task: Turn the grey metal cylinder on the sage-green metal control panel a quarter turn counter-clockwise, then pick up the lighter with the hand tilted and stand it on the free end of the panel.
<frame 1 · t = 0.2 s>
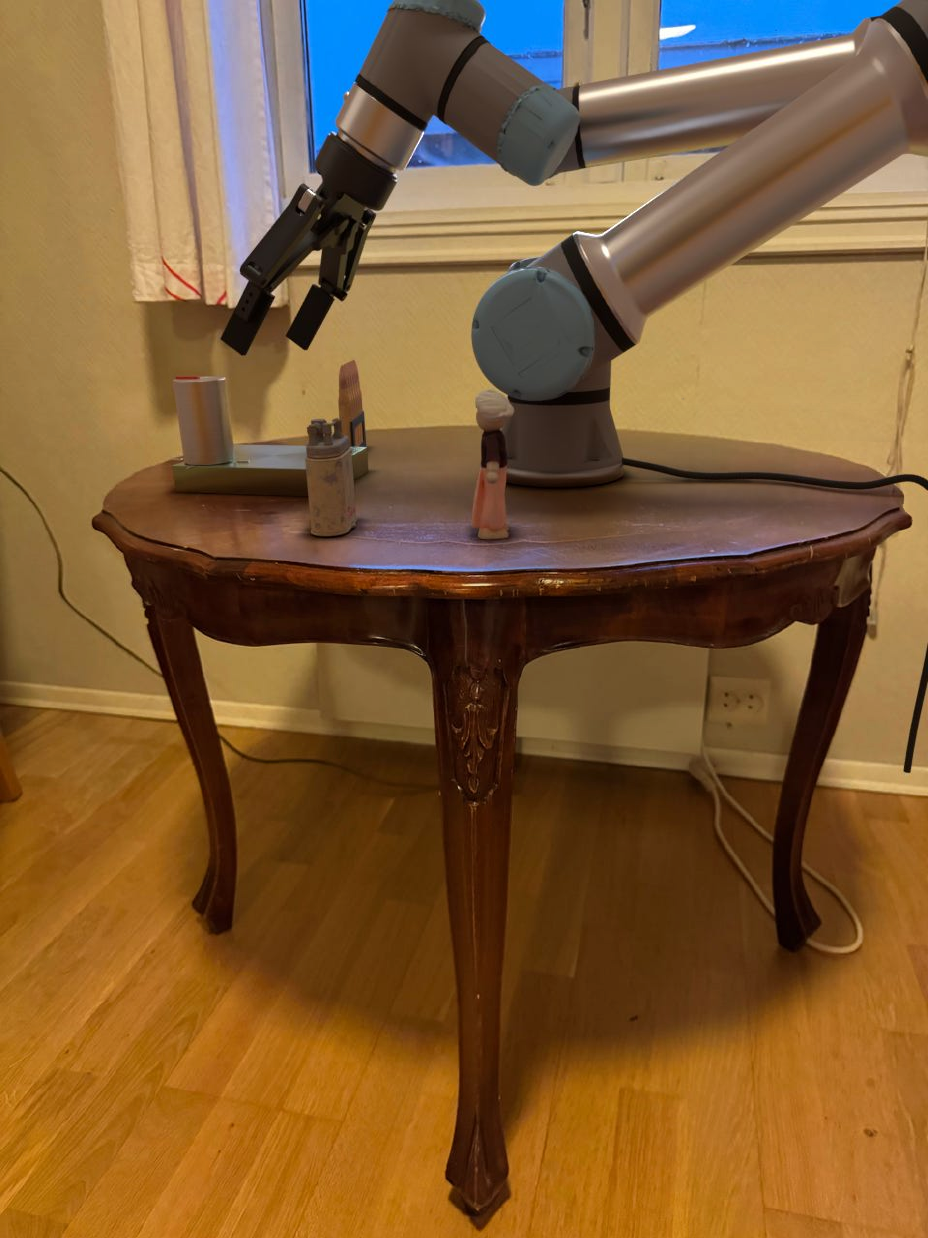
hand: (266, 345, 92), 16 cm above the table, tool tilted 35°, fingers open, 13 cm apart
panel: (276, 481, 103), on the table
lighter: (336, 529, 82), on the table
grey metal cylinder: (204, 418, 98), point 8 cm above the table, hinge at 0.0°
grandmother figurine: (492, 536, 79), on the table
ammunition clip: (354, 455, 119), on the table
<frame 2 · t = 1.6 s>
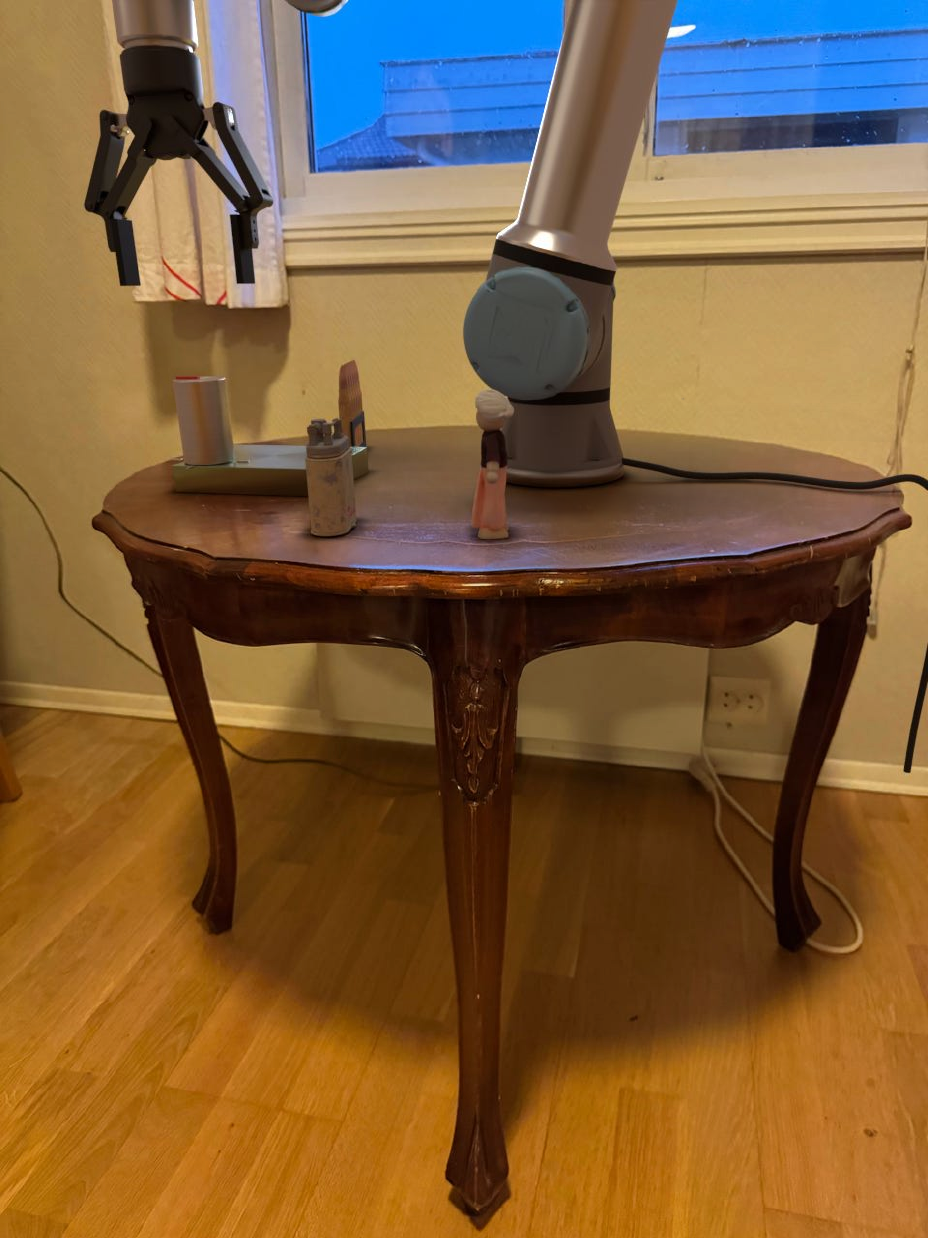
hand: (187, 285, 93), 22 cm above the table, tool pointing down, fingers open, 13 cm apart
nothing on the table moved.
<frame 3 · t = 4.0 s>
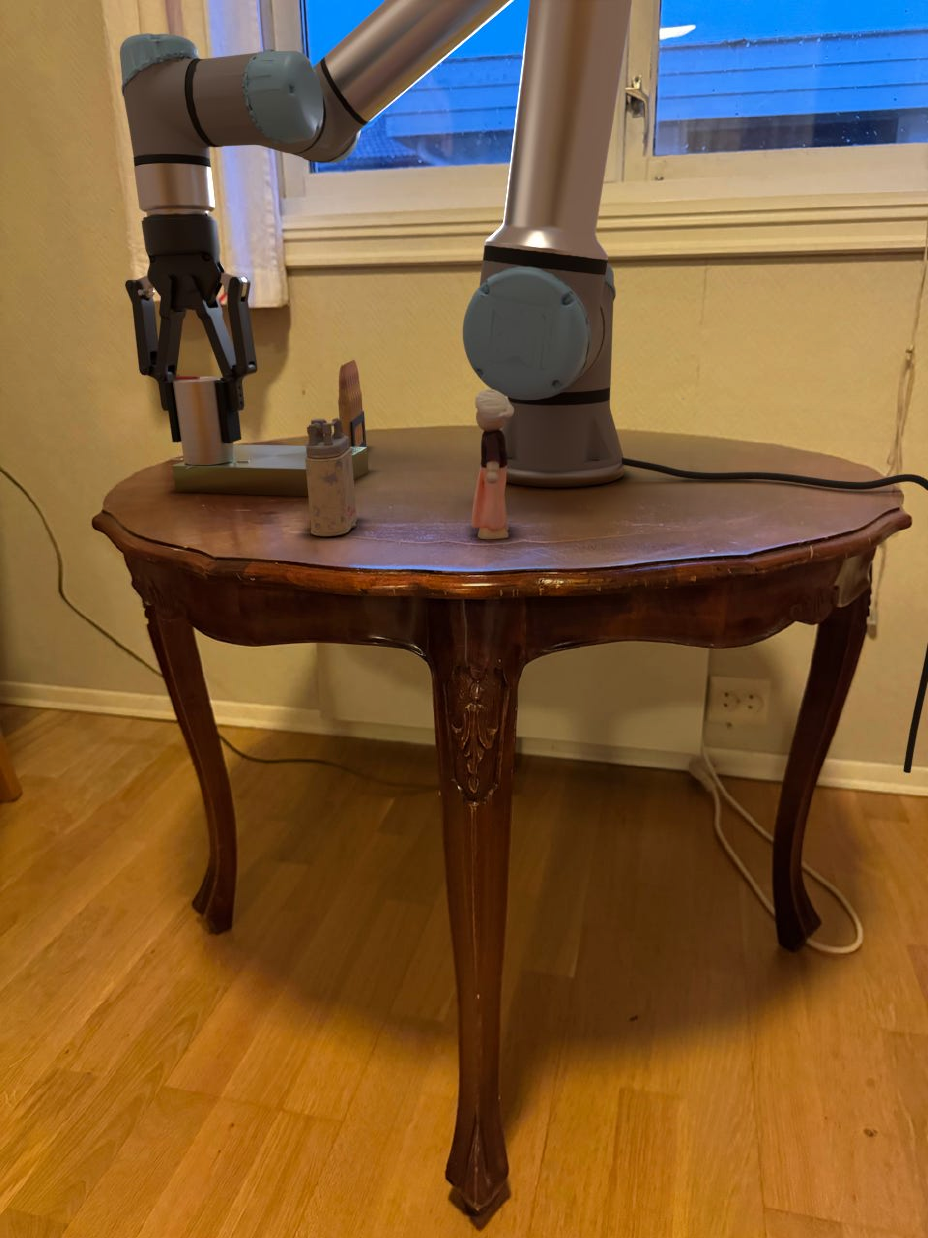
hand: (207, 440, 99), 5 cm above the table, tool pointing down, fingers closed on grey metal cylinder, 6 cm apart
grey metal cylinder: (204, 418, 98), point 8 cm above the table, hinge at 0.0°, touching gripper
everything else where it was.
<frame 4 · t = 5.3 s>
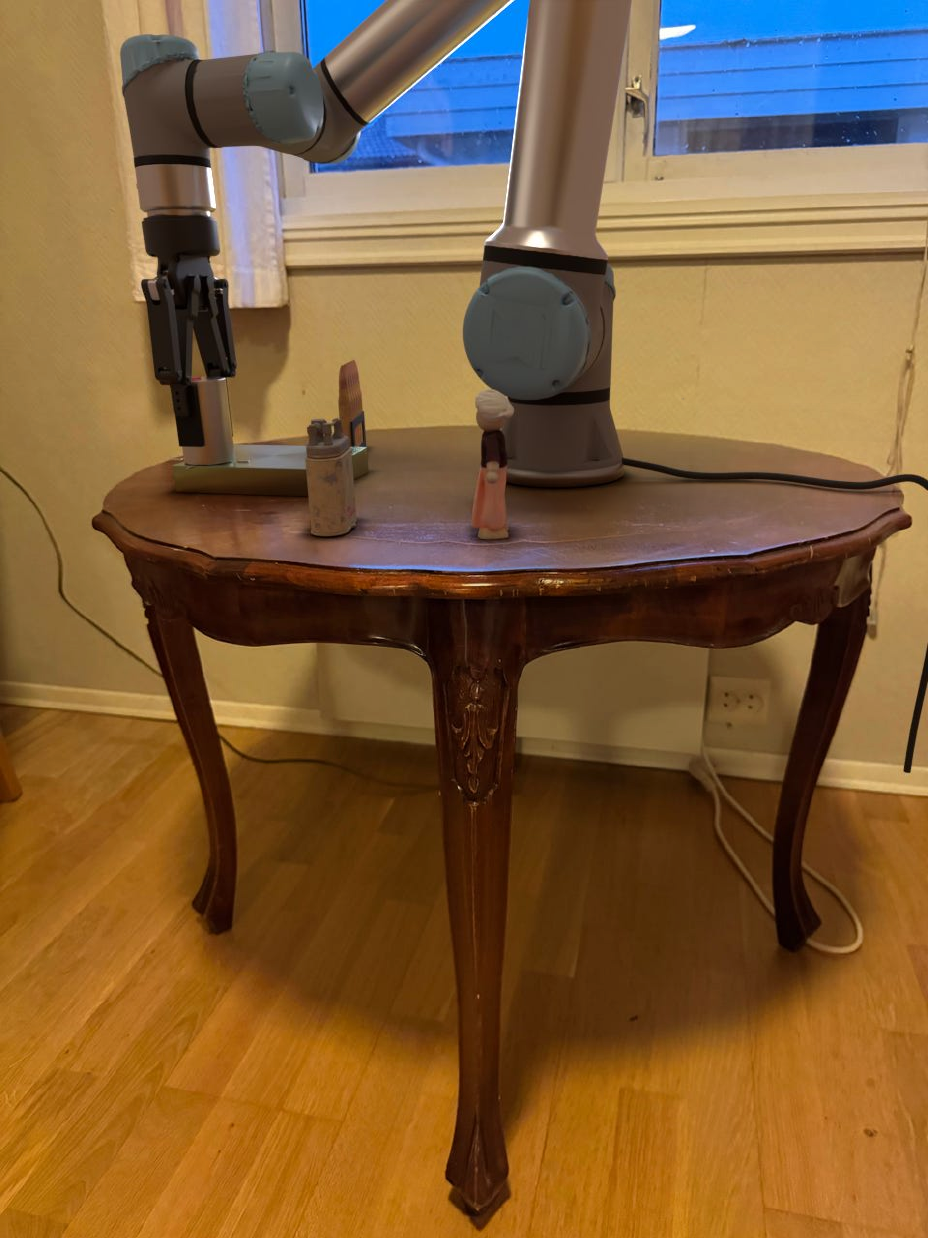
hand: (206, 440, 99), 5 cm above the table, tool pointing down, fingers open, 6 cm apart
grey metal cylinder: (204, 418, 98), point 8 cm above the table, hinge at 89.6°
everything else where it was.
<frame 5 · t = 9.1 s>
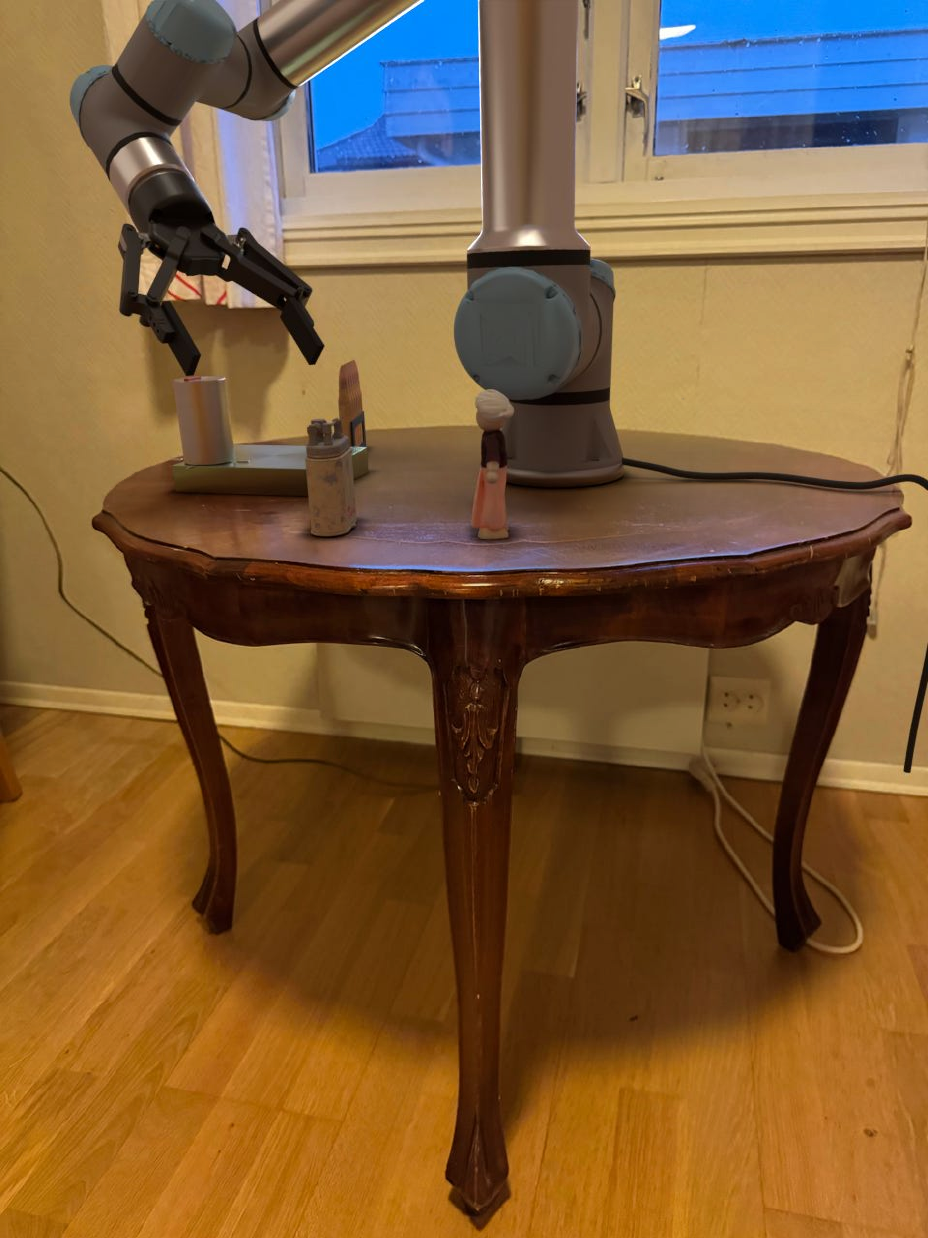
hand: (258, 360, 84), 15 cm above the table, tool tilted 45°, fingers open, 13 cm apart
nothing on the table moved.
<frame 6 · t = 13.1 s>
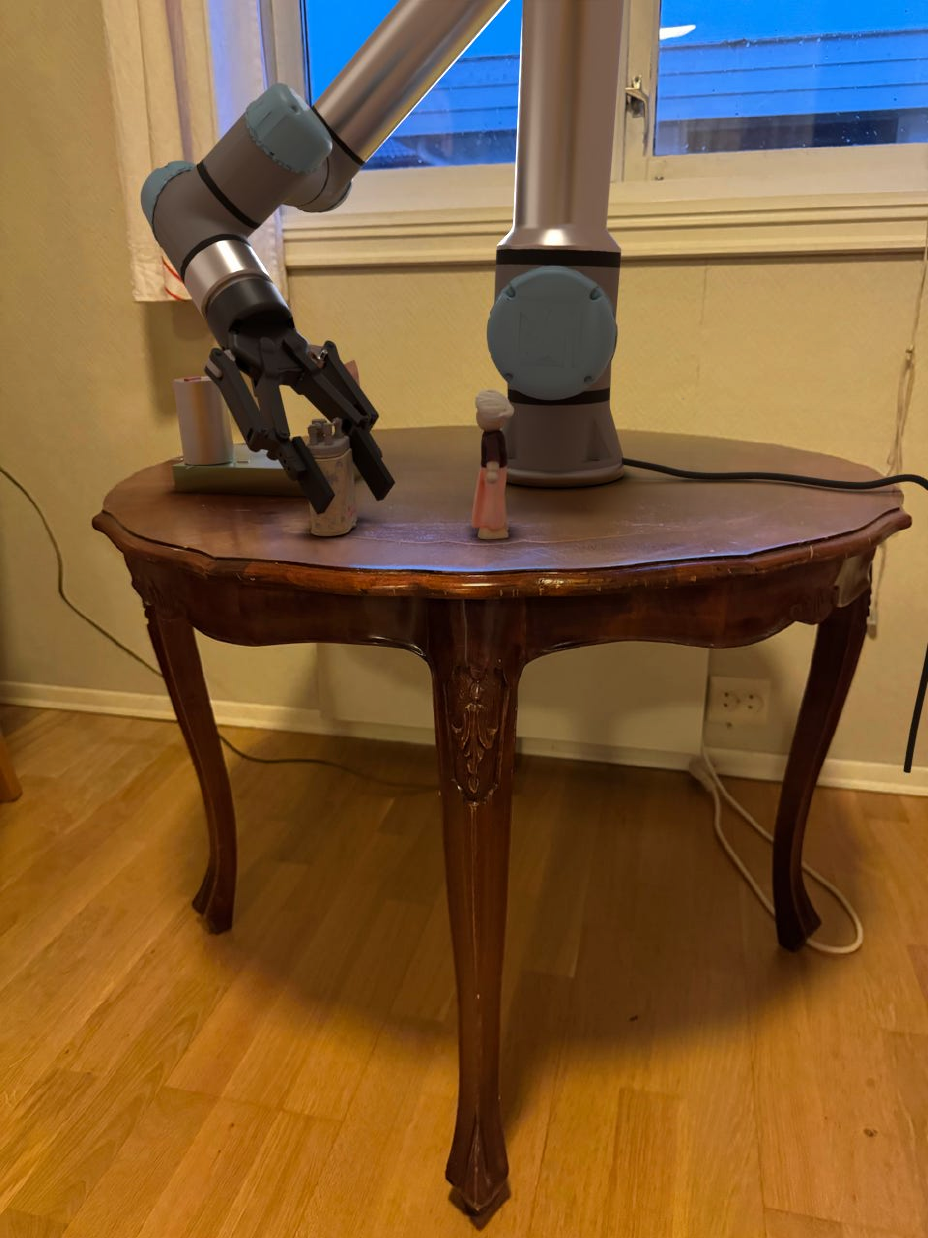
hand: (356, 497, 79), 3 cm above the table, tool tilted 45°, fingers closed on lighter, 6 cm apart
lighter: (336, 529, 82), on the table, touching gripper
everything else where it was.
when the fingers open (6 cm above the table, at t = 22.1 s): lighter stays where it is, resting on panel.
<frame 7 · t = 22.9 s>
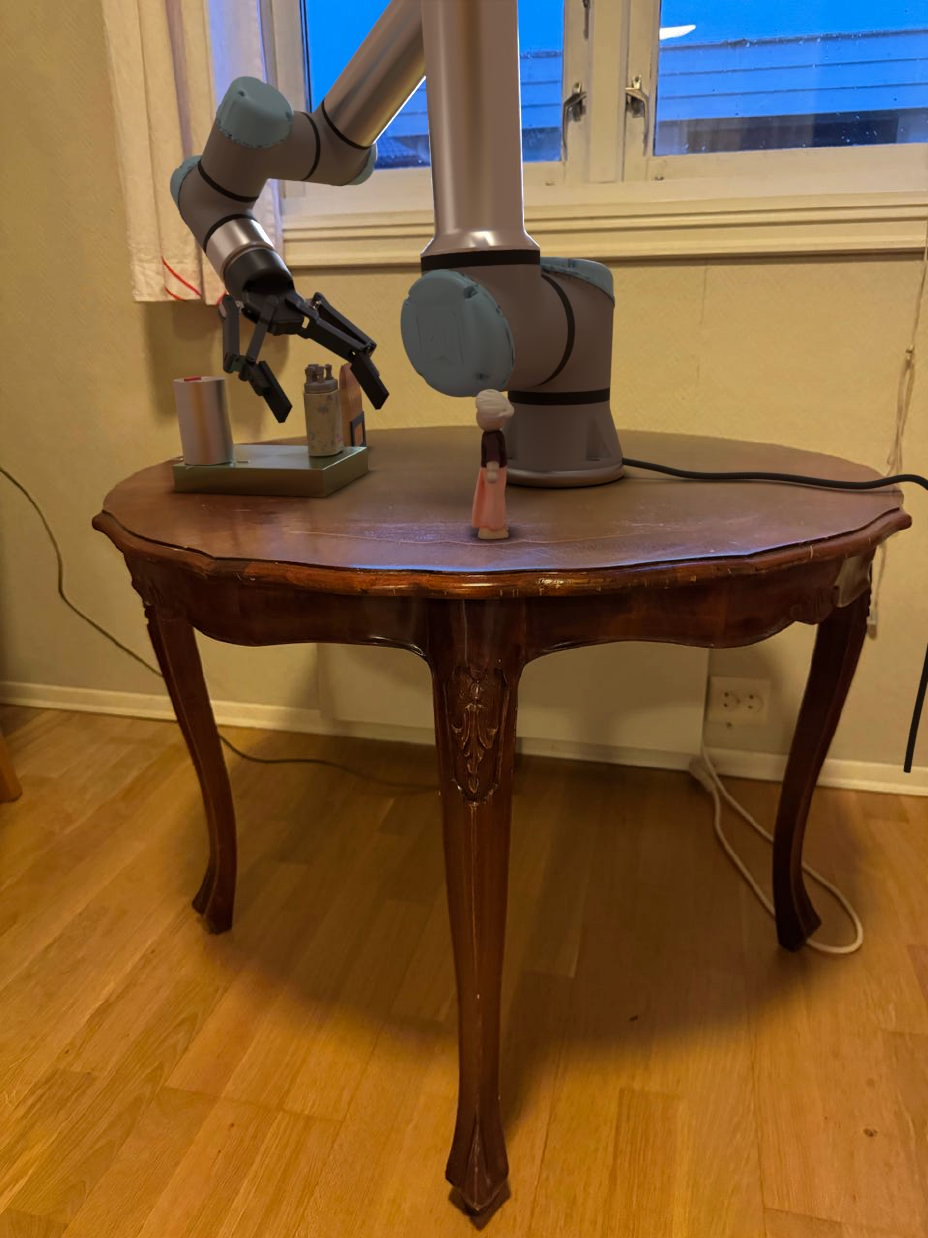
hand: (336, 408, 100), 8 cm above the table, tool tilted 45°, fingers open, 13 cm apart
lighter: (327, 453, 103), point 3 cm above the table, touching panel
everything else where it was.
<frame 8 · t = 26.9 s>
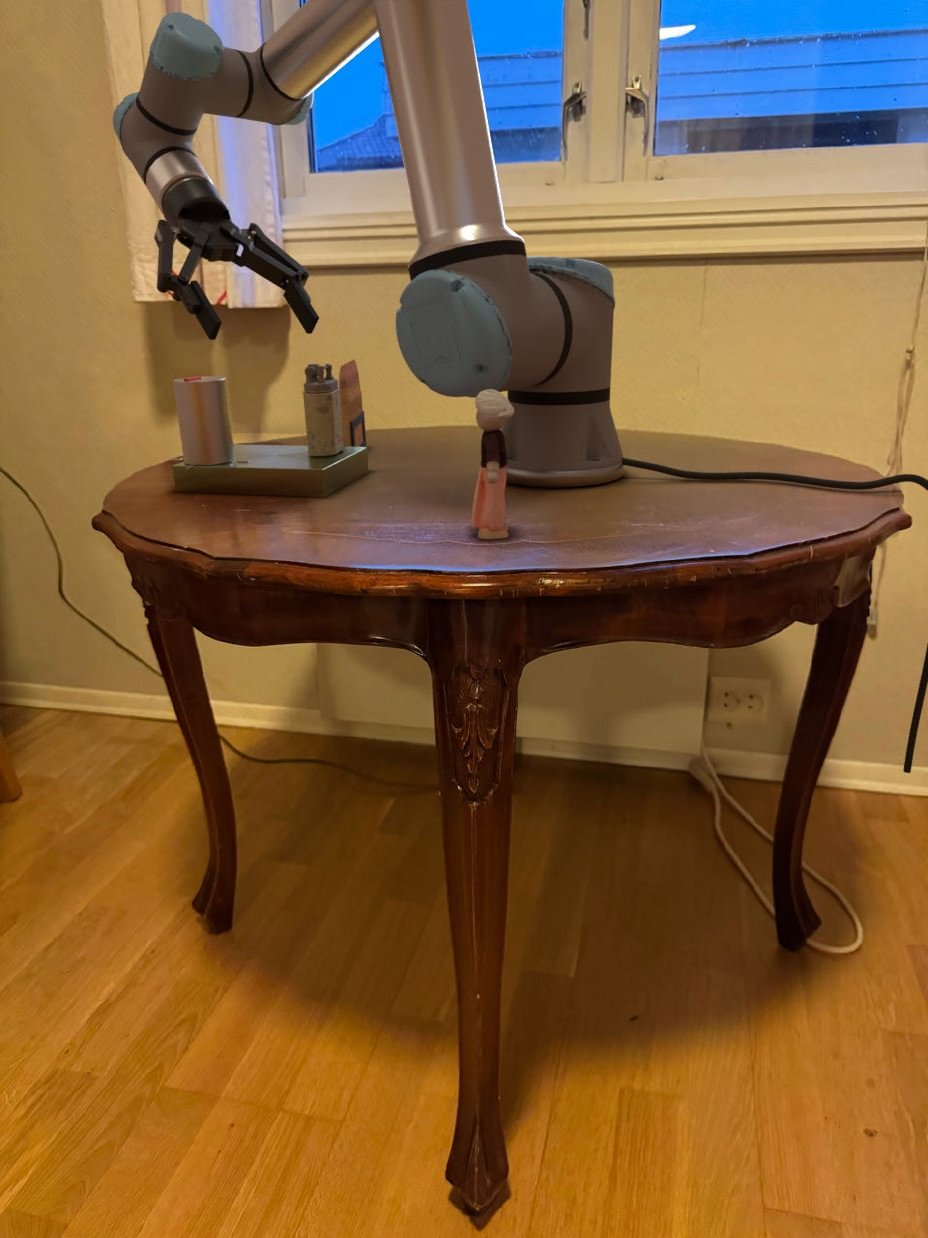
hand: (266, 328, 106), 17 cm above the table, tool tilted 45°, fingers open, 13 cm apart
nothing on the table moved.
at the end: grey metal cylinder at +90° (first picture: +0°); lighter inside the target area on the panel (0.4 cm from its centre), point 2.8 cm above the panel's base; lighter tilted 0° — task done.
